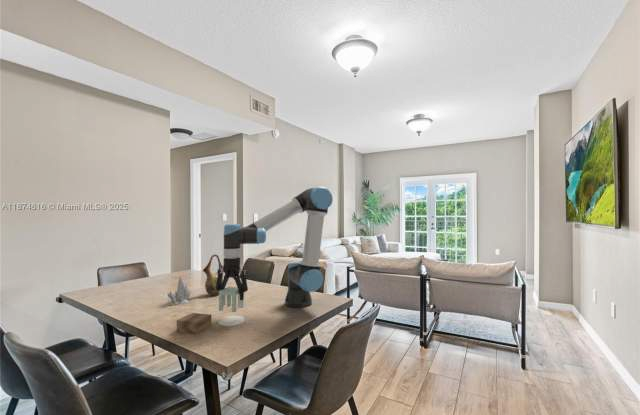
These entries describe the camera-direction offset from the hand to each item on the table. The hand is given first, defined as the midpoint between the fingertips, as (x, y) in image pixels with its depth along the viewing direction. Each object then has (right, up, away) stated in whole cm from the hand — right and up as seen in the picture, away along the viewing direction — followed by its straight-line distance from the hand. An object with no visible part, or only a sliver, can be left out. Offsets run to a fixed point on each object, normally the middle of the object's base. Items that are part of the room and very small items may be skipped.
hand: (231, 306), depth 143 cm
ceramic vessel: (-24, -8, +46) cm, 53 cm away
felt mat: (0, -7, 0) cm, 7 cm away
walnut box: (-14, -7, -9) cm, 18 cm away
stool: (0, -1, 0) cm, 1 cm away
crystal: (-39, -8, +30) cm, 49 cm away
